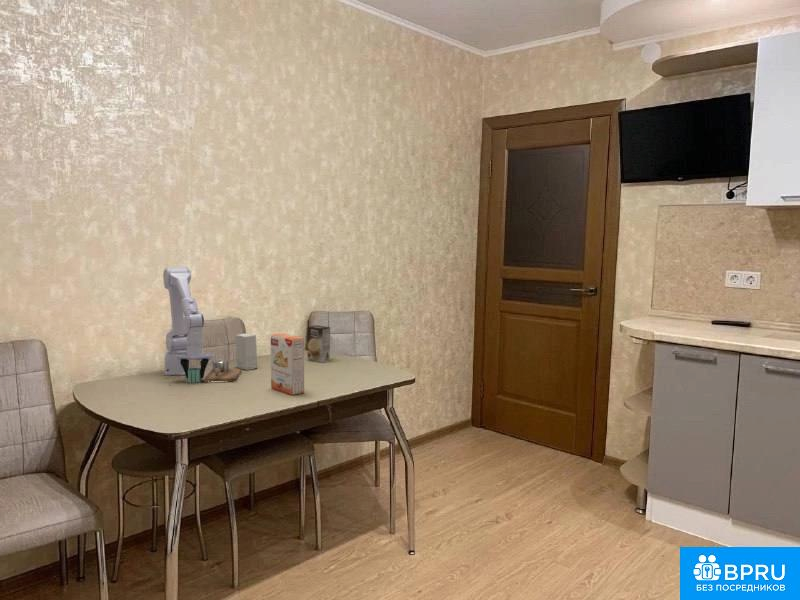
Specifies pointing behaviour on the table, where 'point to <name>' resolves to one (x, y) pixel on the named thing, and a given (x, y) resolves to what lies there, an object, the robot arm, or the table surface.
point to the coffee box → (318, 344)
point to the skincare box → (246, 351)
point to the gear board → (223, 375)
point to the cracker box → (287, 363)
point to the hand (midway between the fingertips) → (195, 377)
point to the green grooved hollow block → (194, 375)
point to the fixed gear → (221, 365)
